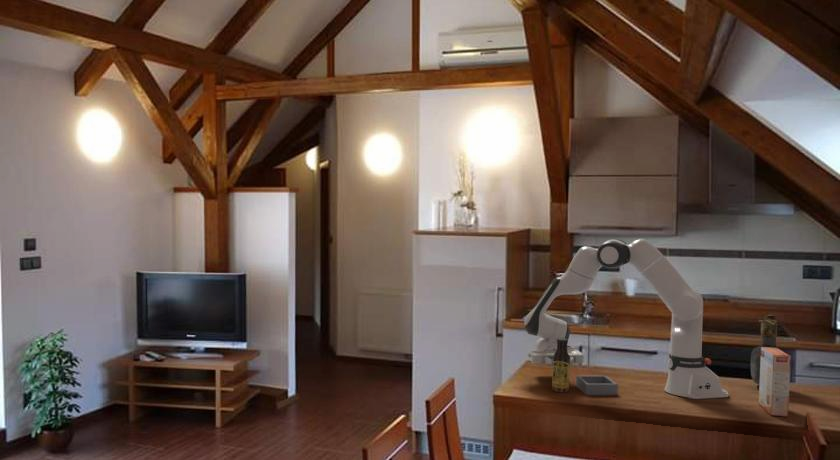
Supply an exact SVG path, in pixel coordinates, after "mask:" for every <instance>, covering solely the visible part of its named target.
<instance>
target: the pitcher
mask: <svg viewBox="0 0 840 460" xmlns="http://www.w3.org/2000/svg"><path fill="white" fill-rule="evenodd" d="M764 313H765V314H766V316H764V318H761V319H758V321H759V323H760V336H761V345H759V346H757V347H754V348H753V349H752V351H751V355H750V376H751V378H752V381H753V382H754V383H755V384H757V385H756V389H757V390H758V391H759V386H760V361H761V347H769V348H778V347H777V336H778V326H779V324H781V320H776V319H777V317H776V315H773V314H772V313H769V312H768V311H765V312H764ZM778 349H780V350H781V351H783V350H782V349H781V348H778Z"/></svg>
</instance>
